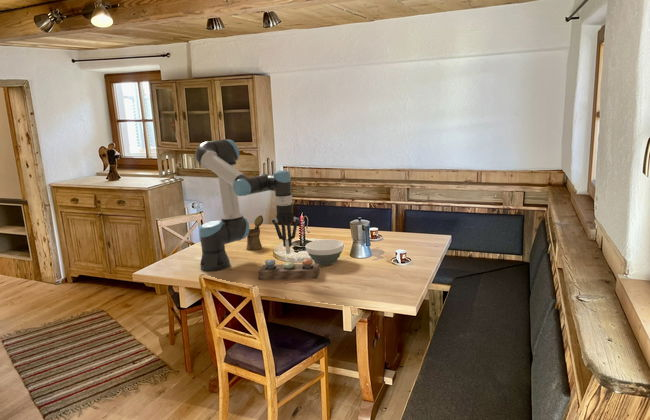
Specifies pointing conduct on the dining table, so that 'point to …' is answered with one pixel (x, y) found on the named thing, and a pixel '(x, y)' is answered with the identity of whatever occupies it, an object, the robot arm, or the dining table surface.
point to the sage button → (289, 265)
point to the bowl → (325, 251)
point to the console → (289, 272)
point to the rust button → (307, 263)
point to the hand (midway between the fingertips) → (288, 253)
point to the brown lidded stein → (254, 235)
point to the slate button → (270, 264)
